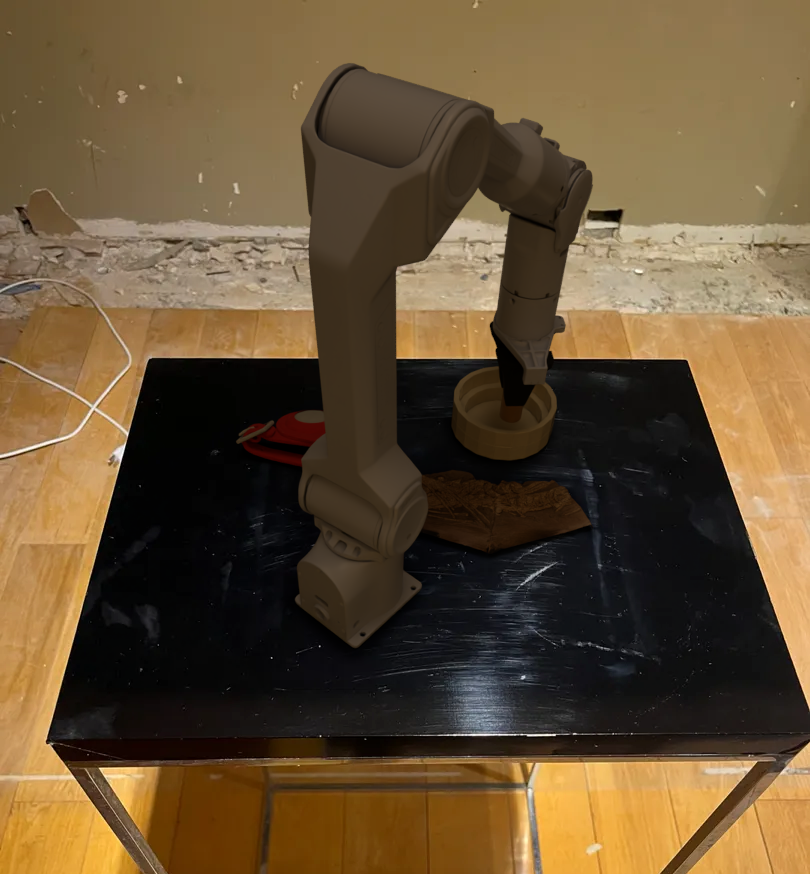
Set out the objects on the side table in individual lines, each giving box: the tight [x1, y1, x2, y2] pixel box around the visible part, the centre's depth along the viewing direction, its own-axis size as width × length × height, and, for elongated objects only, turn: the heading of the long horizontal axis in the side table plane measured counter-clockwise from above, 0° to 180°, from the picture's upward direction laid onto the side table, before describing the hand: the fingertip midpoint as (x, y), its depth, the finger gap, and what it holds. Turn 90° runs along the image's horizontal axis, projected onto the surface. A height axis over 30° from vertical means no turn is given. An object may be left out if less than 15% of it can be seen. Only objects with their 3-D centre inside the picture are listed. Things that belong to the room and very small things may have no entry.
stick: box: [499, 394, 523, 423], centre depth 87 cm, size 2×2×9 cm
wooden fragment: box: [420, 469, 594, 555], centre depth 84 cm, size 26×11×1 cm, turn 84°
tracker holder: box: [235, 409, 326, 468], centre depth 89 cm, size 12×4×10 cm
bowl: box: [450, 365, 558, 461], centre depth 92 cm, size 11×11×4 cm
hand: (512, 395), depth 88 cm, fingers closed on stick, 2 cm apart
